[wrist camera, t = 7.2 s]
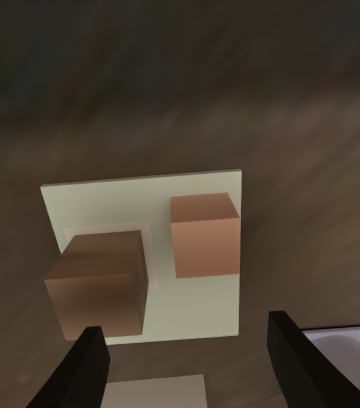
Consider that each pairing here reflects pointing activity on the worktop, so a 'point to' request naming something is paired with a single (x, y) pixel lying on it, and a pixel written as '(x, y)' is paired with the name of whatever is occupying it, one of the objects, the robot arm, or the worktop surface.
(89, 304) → the walnut cube
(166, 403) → the milk
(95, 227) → the baseplate
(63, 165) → the worktop surface
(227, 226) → the terracotta block
